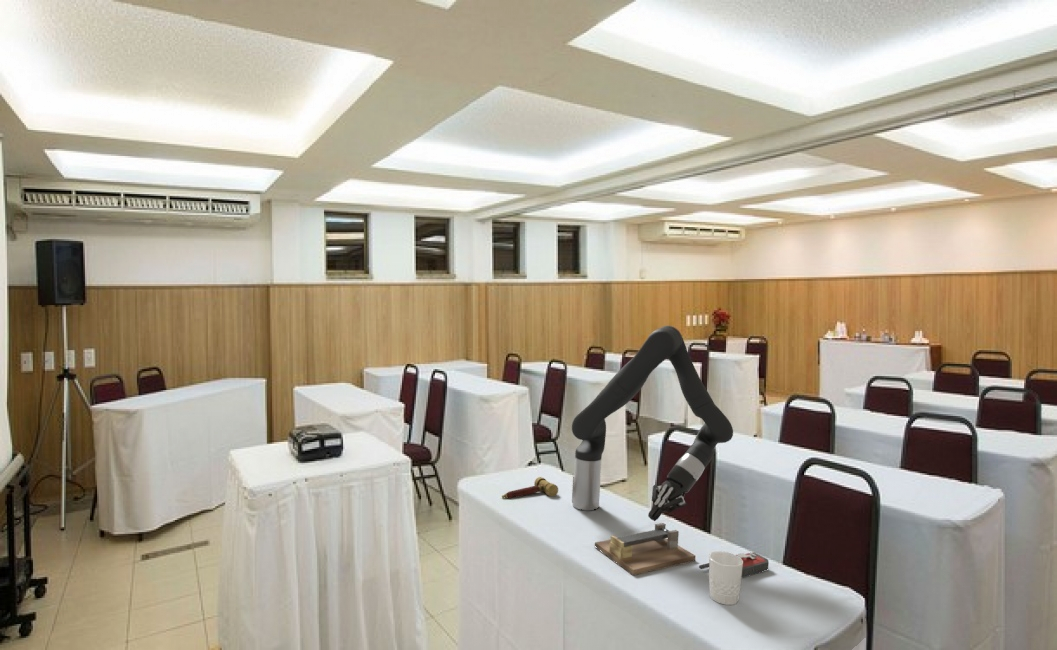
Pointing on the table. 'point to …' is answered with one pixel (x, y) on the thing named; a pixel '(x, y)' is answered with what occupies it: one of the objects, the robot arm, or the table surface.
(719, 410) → the robot arm
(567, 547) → the table surface
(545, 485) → the gavel
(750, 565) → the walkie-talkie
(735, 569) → the white cup
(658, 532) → the strap
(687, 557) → the latch board
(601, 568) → the table surface
